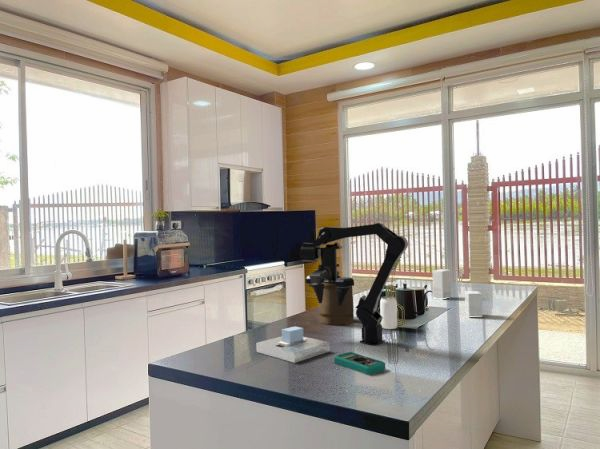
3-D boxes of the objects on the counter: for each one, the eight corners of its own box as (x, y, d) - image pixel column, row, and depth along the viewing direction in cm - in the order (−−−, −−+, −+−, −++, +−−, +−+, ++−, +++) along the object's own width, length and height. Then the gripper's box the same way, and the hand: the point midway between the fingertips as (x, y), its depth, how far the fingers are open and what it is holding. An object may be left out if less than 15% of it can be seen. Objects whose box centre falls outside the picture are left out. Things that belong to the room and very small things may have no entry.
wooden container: (343, 316, 201) (342, 267, 201) (360, 323, 187) (358, 270, 187) (313, 319, 196) (312, 269, 196) (327, 326, 182) (326, 272, 182)
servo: (307, 349, 149) (306, 327, 149) (285, 356, 142) (285, 332, 142) (299, 347, 152) (298, 325, 152) (277, 353, 145) (276, 330, 145)
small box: (482, 318, 190) (482, 293, 190) (469, 318, 191) (468, 293, 191) (478, 314, 198) (477, 290, 198) (465, 314, 199) (464, 290, 199)
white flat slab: (329, 351, 146) (329, 342, 146) (294, 362, 135) (294, 353, 135) (291, 342, 159) (291, 333, 159) (256, 351, 148) (256, 342, 148)
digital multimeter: (369, 377, 122) (369, 366, 122) (333, 364, 134) (333, 354, 134) (387, 371, 126) (387, 361, 127) (351, 359, 138) (350, 350, 138)
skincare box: (441, 297, 246) (440, 268, 246) (452, 298, 241) (451, 269, 241) (432, 299, 241) (431, 270, 241) (443, 300, 235) (442, 270, 235)
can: (390, 330, 173) (389, 299, 173) (377, 327, 178) (376, 297, 178) (400, 327, 177) (400, 297, 177) (387, 325, 182) (387, 295, 182)
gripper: (294, 262, 163) (295, 305, 163) (333, 264, 149) (335, 311, 149) (315, 259, 170) (316, 300, 170) (354, 261, 157) (355, 306, 157)
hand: (329, 304), depth 162 cm, fingers open, 9 cm apart
